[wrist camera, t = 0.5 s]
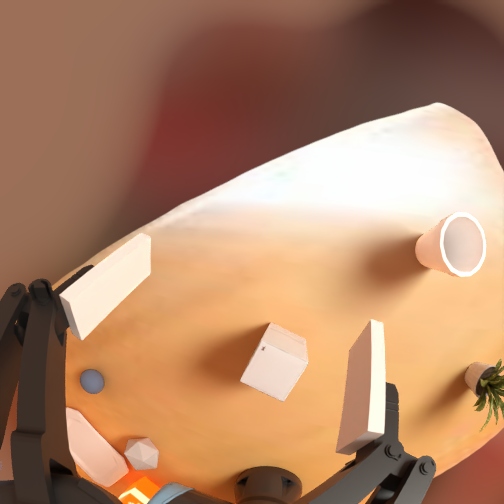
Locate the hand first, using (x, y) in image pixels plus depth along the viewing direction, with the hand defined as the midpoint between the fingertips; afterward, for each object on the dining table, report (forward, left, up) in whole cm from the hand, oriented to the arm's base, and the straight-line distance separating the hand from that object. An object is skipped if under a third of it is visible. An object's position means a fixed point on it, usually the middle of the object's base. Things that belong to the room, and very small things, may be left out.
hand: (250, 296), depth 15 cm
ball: (-21, +45, -31) cm, 58 cm away
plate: (-47, +59, -35) cm, 83 cm away
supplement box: (-13, +2, -34) cm, 36 cm away
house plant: (-28, -39, -34) cm, 59 cm away
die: (-39, +35, -34) cm, 62 cm away
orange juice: (-57, +41, -34) cm, 78 cm away
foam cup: (+1, -28, -34) cm, 44 cm away
